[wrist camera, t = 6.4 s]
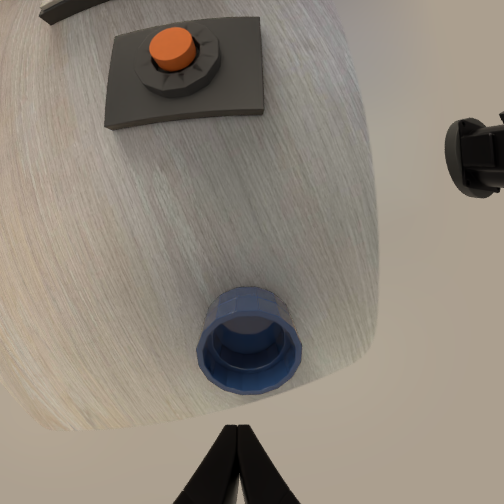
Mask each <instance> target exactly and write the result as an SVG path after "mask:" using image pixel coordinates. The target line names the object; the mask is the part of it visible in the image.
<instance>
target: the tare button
mask: <svg viewBox="0 0 504 504" xmlns="http://www.w3.org/2000/svg"><path fill="white" fill-rule="evenodd" d="M149 51H150V54H151V56H152V57H153V58H154V60H155V61H156V63H157V64H158V66H159V67H160V68H161V69H163V70H166V71H178V70H181V69H184V68H185V67H187V66H188V65H190V64H191V63H192V61H193V60H194V58H195V56H196V48H195V45H194V42H193V39H192V36H191V34H190V33H189V32H188V31H187V30H186V29H183V28H179V27H173V28H168V29H165V30H163V31H161V32H160V33H158V34H157V35H156V36H155V37H154V38H153V39H152V41H151V43H150V46H149Z"/></svg>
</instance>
